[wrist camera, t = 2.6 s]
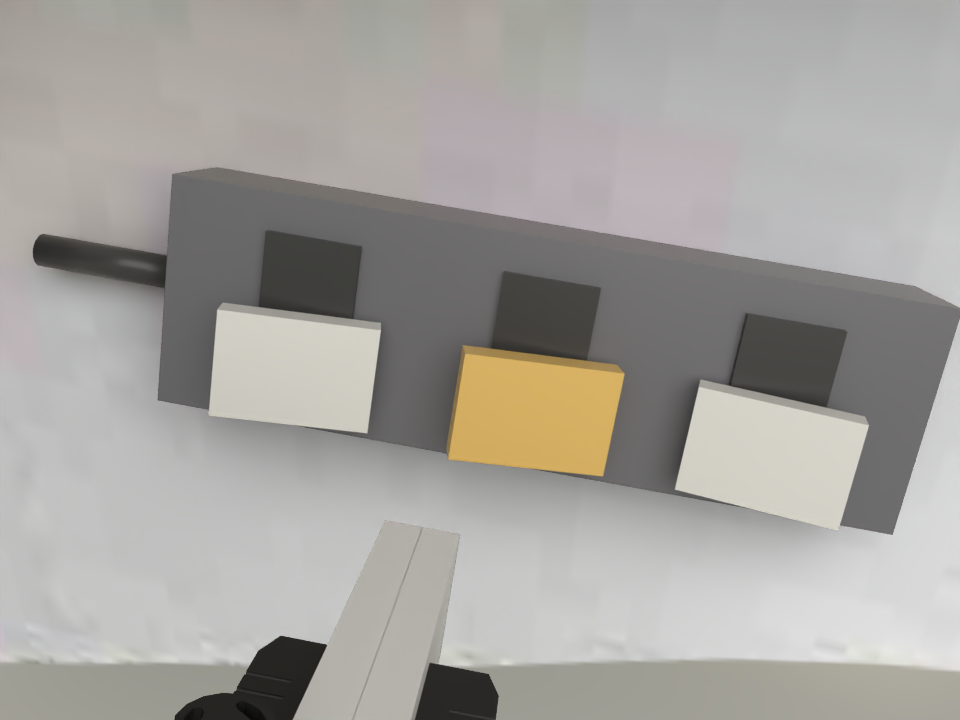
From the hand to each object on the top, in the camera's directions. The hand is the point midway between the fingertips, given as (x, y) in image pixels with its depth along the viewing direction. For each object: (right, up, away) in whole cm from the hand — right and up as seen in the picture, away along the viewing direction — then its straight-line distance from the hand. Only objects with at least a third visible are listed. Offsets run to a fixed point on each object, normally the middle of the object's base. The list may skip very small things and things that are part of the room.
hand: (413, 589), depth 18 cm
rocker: (+11, +2, +12) cm, 16 cm away
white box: (-5, +4, +13) cm, 14 cm away
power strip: (+1, +6, +17) cm, 18 cm away
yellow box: (+3, +3, +13) cm, 13 cm away
